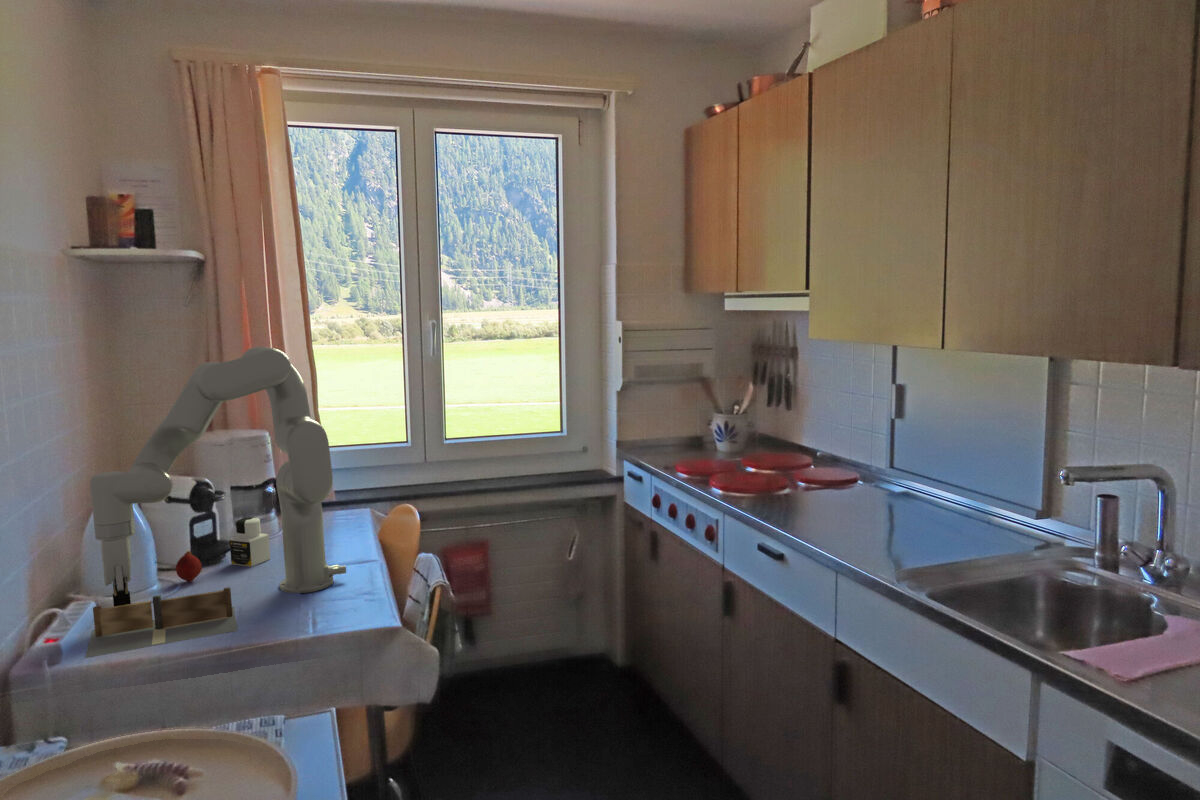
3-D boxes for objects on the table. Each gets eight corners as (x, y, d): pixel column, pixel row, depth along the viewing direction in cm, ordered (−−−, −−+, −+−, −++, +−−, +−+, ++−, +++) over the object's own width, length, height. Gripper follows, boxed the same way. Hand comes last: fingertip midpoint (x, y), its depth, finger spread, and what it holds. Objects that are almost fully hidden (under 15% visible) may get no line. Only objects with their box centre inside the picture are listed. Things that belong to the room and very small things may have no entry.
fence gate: (153, 625, 183) (150, 597, 182) (153, 627, 181) (150, 599, 181) (96, 635, 178) (93, 606, 177) (95, 637, 177) (92, 608, 176)
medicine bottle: (230, 564, 227) (227, 521, 226) (250, 556, 234) (247, 514, 232) (251, 567, 225) (247, 523, 223) (271, 559, 231) (267, 516, 230)
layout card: (233, 608, 194) (233, 606, 194) (237, 632, 180) (237, 630, 180) (92, 632, 182) (92, 630, 182) (84, 659, 168) (84, 657, 168)
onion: (192, 586, 210) (189, 555, 209) (171, 585, 212) (169, 554, 211) (207, 578, 216) (204, 548, 215) (187, 577, 217) (185, 547, 216)
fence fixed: (232, 614, 190) (230, 584, 189) (232, 616, 188) (230, 586, 187) (155, 627, 183) (152, 596, 182) (155, 630, 181) (152, 598, 181)
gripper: (95, 524, 187) (103, 604, 189) (94, 540, 174) (102, 625, 176) (133, 519, 190) (141, 597, 193) (135, 534, 178) (143, 618, 180)
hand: (122, 610), depth 184 cm, fingers closed
